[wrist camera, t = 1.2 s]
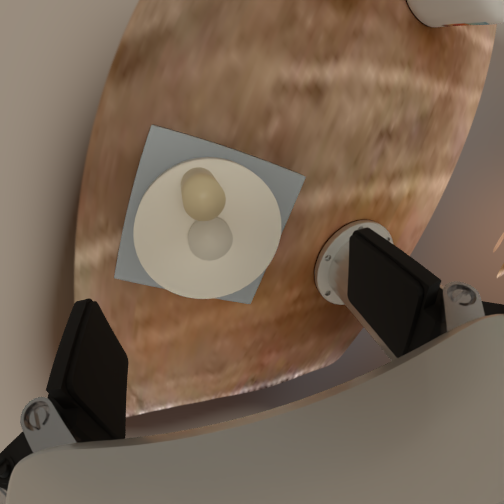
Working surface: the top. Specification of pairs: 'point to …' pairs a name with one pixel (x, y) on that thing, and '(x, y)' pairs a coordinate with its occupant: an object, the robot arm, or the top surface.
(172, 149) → the base board
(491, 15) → the milk bottle
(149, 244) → the dial
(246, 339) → the top surface
